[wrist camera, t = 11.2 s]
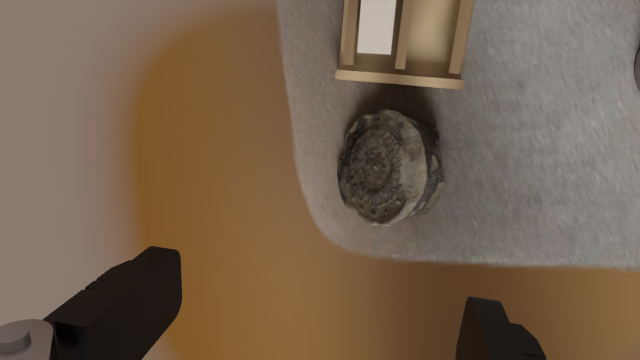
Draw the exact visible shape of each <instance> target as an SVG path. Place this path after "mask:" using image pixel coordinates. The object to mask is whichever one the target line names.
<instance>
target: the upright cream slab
mask: <svg viewBox="0 0 640 360" xmlns="http://www.w3.org/2000/svg"><path fill="white" fill-rule="evenodd" d="M396 3H397V0H361V9H360V22H359V35H358V49H357V53H370V54H389V55H391V53H392V43H393V33H394V23H395V13H396Z"/></svg>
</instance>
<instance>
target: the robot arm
mask: <svg viewBox="0 0 640 360" xmlns="http://www.w3.org/2000/svg"><path fill="white" fill-rule="evenodd" d="M635 79H636V83H637V86H638V89H639V91H640V50H639V52H638V55H637V59H636V64H635ZM181 302H182V282H181V258H180V254H179V252H178V251H177V250H174V249H167V248H161V247H155V246H151V247H148V248H147V249H146V250H145V251H143V252H142V253H141V254H139V255H138V256H137V257H136V258H134V259H133V260H129V261H126V262H124V263H122V264H120V265H117V266H115V267H112V268H111V269H110V270H108V271H106V272H105V273H104V274H102V275H101V276H100V277H98V278H97V280H96V281H93V282H92V283H90V284H89V285H88V286H87V287H85V290H81V291H80V292H78V293H77V294H76V295H75V296H73V297H72V298H70V299H69V300H68V301H67V302H65V303H64V304H63V305H61V306H60V307H59V308H57V309H56V310H55V311H53V312H52V313H51V314H49V315H48V316H47V317H45V318H44V319H43V320H37V319H28V320H20V321H16V322H12V323H8V324H5V325H3V326H0V360H142V358H143V357H144V356H145V355H146V353H147V352H148V351H149V350H150V349H151V347H152V346H153V345H154V344H155V343H156V341H157V340H158V339H159V338H160V337H161V335H162V334H163V333H164V332H165V331H166V329H167V328H168V327H169V326H170V325H171V323H172V322H173V321H174V319H175V318H176V317H177V315H178V313H179V310H180V307H181ZM455 359H456V360H546V356H545V354H544V352H543V350H542V348H541V346H540V345H539V342H538V340H537V339H536V338H535V337H534V336H532V335H531V334H530V333H529V332H528V331H527V330H526V329H525V328H524V327H523V326H522V325H519V324H513V323H510V322H509V320H508V317H507V315H506V313H505V310H504V308H503V306H502V304H501V302H500V301H496V300H490V299H482V298H477V297H468V298H467V301H466V304H465V309H464V313H463V319H462V323H461V328H460V332H459V337H458V341H457V346H456V356H455Z"/></svg>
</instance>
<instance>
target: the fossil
mask: <svg viewBox="0 0 640 360" xmlns="http://www.w3.org/2000/svg"><path fill="white" fill-rule="evenodd" d="M438 133H439V132H438V131H437V130H436V128H435V126H433V125H431V124H429V123H426V122H423V121H420V120H417V119H413V118H410V117H408V116H405V115H403V114H402V113H400V112H398V111H394V110H389V109H383V110H380V111H378V112H377V113H376V114H366V115H364V116H360V117H359V118H358V120H357V121H356V122H355V123H354V125H353V126H352V127H351V128H350V130H349V131H348V133H347V134H346V136H345V139H344V153H343V156H342V157H340V162H339V164H338V167H337V176H338V187H339V190H340V194H341V197H342V200H343V202H344V204H345V205H346V207H347V208H350V209H353V210H355V211H356V212H357V213H358V214H359V216H360V217H361V218H362V219H363V220H365V221H366V223H368V224H370V225H372V226H377V225H381V226H390V225H393V224H396V223H397V222H399V221H401V220H403V219H405V218H408V217H412V216H418V215H424V214H427V213H428V212H429V211H430V210H431V209H432V207H433V206H434V204H435V203H436V202H437V200H438V199H439V197H440V194H441V192H442V190H443V188H444V185H445V182H446V178H445V170H444V168H443V165H442V159H441V157H440V154H439V151H438V140H439V135H438Z"/></svg>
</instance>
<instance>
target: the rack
mask: <svg viewBox="0 0 640 360" xmlns="http://www.w3.org/2000/svg"><path fill="white" fill-rule="evenodd" d="M474 1H475V0H397V3H396V13H395V23H394V33H393V43H392V53H391V55H389V54H370V53H357V49H358V35H359V22H360V9H361V0H345V2H344V14H343V26H342V38H341V50H340V62H339V69H336V76H335V79H342V80H354V81H366V82H378V83H389V84H401V85H413V86H424V87H436V88H448V89H460V90H463V87H464V81H465V80H463V79H461V76H462V70H463V64H464V58H465V53H466V47H467V41H468V35H469V30H470V24H471V18H472V12H473V7H474Z"/></svg>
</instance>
